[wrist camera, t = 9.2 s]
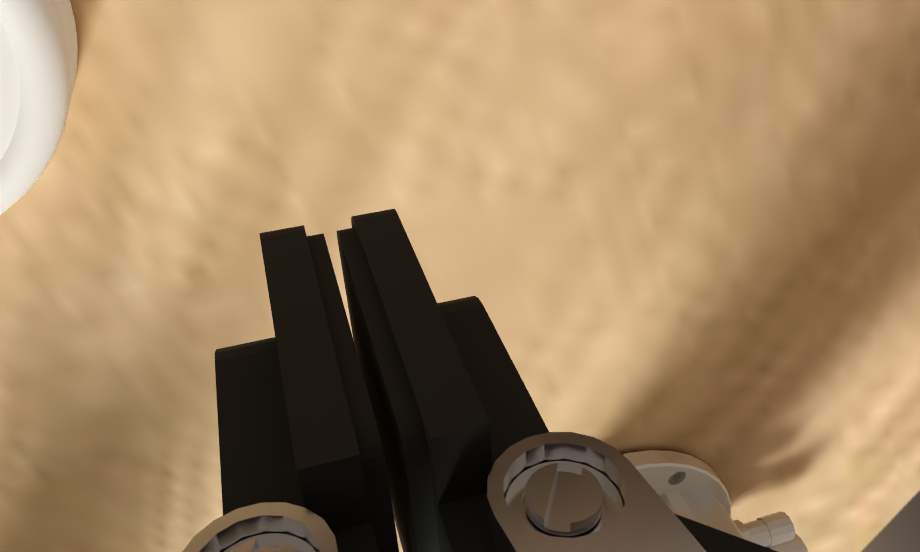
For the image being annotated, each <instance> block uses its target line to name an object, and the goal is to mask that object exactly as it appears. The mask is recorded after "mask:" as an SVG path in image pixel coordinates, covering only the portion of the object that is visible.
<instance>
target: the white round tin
mask: <svg viewBox="0 0 920 552" xmlns="http://www.w3.org/2000/svg"><path fill="white" fill-rule="evenodd" d="M77 55H78V44H77V34H76V24H75V19H74V15H73V11H72V7H71V3H70V0H0V215H1V214H2V213H3V212H5V211H6V210H7V209H8V208H9V207H11V206H12V205H13V204H14V203H15V202H16V201H18V200H19V199H20V198H21V197H22V196H23V195H25V194H26V193H27V192H28V190H29V189H30V188H31V187H32V186H33V184H34V183H35V182H36V181H37V180H38V178H39V177H40V176H41V175H42V174H43V172H44V170H45V169H46V167H47V165H48V164H49V162H50V160H51V159H52V157H53V155H54V154H55V151H56V149H57V146H58V144H59V141H60V139H61V136H62V134H63V131H64V128H65V123H66V119H67V114H68V110H69V105H70V100H71V96H72V92H73V87H74V82H75V77H76V73H77Z"/></svg>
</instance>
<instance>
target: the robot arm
mask: <svg viewBox="0 0 920 552" xmlns="http://www.w3.org/2000/svg"><path fill="white" fill-rule="evenodd" d="M351 222H352V228H350V229H345V230H340V231H337V238H338V245H339V251H340V258H341V264H342V270H343V276H344V283H345V289H346V295H347V301H348V308H349V314H350V320H351V326H352V333H353V337H352V334H351V330H350V326H349V323H348V319H347V316H346V312H345V309H344V305H343V301H342V298H341V294H340V291H339V287H338V284H337V280H336V276H335V273H334V269H333V266H332V262H331V259H330V255H329V251H328V248H327V244H326V241H325V237H324V234H318V235H313V236H306V232H305V228H304V225H303V226H297V227H292V228H286V229H281V230H276V231H270V232H265V233H260V240H261V246H262V253H263V259H264V266H265V272H266V279H267V285H268V292H269V298H270V304H271V311H272V317H273V324H274V330H275V337H274V338H269V339H264V340H260V341H255V342H250V343H245V344H240V345H236V346H231V347H226V348H221V349H216V351H215V371H216V390H217V409H218V427H219V446H220V465H221V484H222V502H223V516H222V517H220V518H218V519H216V520H214V521H212V522H211V523H210V524H209V525H208V526H206V527H205V528H204V529H203V530H202V531H200V532H199V533H198V534H197V535H195V536H194V537H193V539H192V540H191V541H190V543H189V544H188V545H187V547H186V548H185V549H184V551H183V552H399V548H398V542H397V535H396V528H395V522H396V526H397V530H398V534H399V537H400V541H401V545H402V548H403V552H808V551H807V548H806V546H805V544H804V543H803V541H802V539H801V538H800V537H799V536H798V535H797V534H796V533H795V529H794V526H793V523H792V521H791V519H790V518H789V516H788V515H787V514H786V513H785V512H777V513H774V514H770V515H767V516H763V517H760V518H757V520H755V521H752V522H748V523H745V524H743V523H742V522H740V521H739V520H734V521H733V520H732V519H731V502H730V499H729V495H728V492H727V490H726V488H725V487H724V485H723V484H722V482H721V481H720V479H719V478H718V476H717V475H716V473H715V472H714V471H713V470H712V469H711V468H710V467H709V466H708V465H707V464H706V463H705V462H703V461H701V460H699V459H697V458H695V457H693V456H691V455H687V454H683V453H679V452H675V451H659V450H647V451H639V452H631V453H625V454H621V453H620V452H619V451H618V450H617V449H615V448H614V447H613V446H611V445H609V444H607V443H605V442H603V441H601V440H598V439H596V438H594V437H591V436H586V435H582V434H578V433H573V432H549V431H548V429H547V427H546V425H545V423H544V421H543V419H542V417H541V416H540V414H539V412H538V410H537V408H536V406H535V404H534V402H533V400H532V398H531V396H530V394H529V393H528V391H527V389H526V387H525V385H524V383H523V381H522V379H521V377H520V375H519V373H518V371H517V369H516V368H515V366H514V364H513V362H512V360H511V358H510V356H509V354H508V352H507V350H506V348H505V346H504V345H503V343H502V341H501V339H500V337H499V335H498V333H497V331H496V329H495V327H494V325H493V323H492V321H491V320H490V318H489V316H488V314H487V312H486V310H485V308H484V306H483V304H482V303H481V301H480V300H479V298H477V297H476V296H471V297H467V298H462V299H457V300H452V301H447V302H443V303H438V304H437V302H436V300H435V297H434V295H433V293H432V291H431V288H430V286H429V284H428V282H427V279H426V277H425V275H424V273H423V270H422V268H421V266H420V264H419V261H418V259H417V257H416V255H415V252H414V250H413V248H412V246H411V243H410V241H409V239H408V237H407V234H406V232H405V230H404V227H403V225H402V223H401V221H400V218H399V216H398V214H397V212H396V210H395V209H390V210H385V211H379V212H374V213H369V214H363V215H358V216H352V218H351ZM353 339H354V341H353ZM394 519H395V521H394Z"/></svg>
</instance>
